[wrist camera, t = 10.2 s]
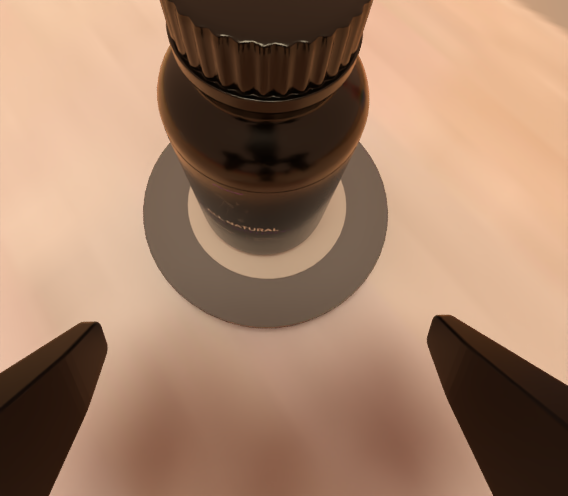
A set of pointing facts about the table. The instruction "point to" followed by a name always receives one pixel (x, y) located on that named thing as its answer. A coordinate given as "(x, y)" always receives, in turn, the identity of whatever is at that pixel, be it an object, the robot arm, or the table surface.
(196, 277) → the hub pad
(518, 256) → the table surface
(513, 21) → the table surface
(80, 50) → the table surface
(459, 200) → the table surface
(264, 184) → the supplement bottle
